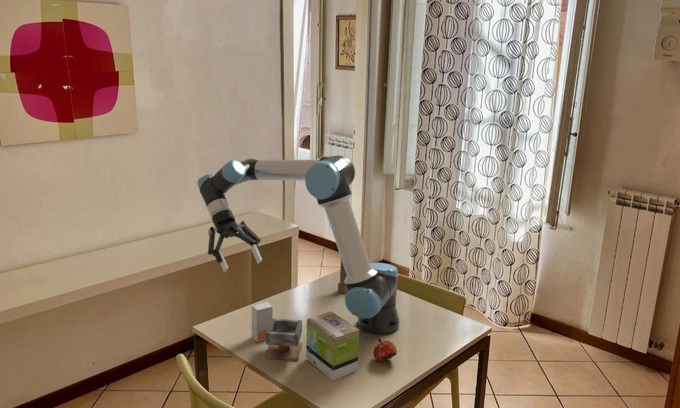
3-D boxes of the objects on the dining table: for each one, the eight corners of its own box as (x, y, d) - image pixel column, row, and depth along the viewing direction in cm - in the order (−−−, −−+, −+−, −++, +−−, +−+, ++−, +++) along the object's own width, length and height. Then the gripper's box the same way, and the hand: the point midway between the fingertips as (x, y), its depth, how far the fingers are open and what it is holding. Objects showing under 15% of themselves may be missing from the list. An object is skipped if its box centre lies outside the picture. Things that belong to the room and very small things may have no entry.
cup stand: (301, 344, 186) (302, 320, 184) (297, 360, 176) (297, 335, 174) (271, 342, 186) (271, 318, 184) (265, 358, 177) (265, 333, 174)
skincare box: (256, 342, 186) (256, 310, 183) (251, 337, 190) (251, 305, 186) (272, 338, 189) (272, 306, 186) (267, 333, 193) (267, 301, 190)
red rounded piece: (399, 368, 178) (389, 340, 183) (403, 360, 172) (393, 331, 177) (377, 373, 176) (368, 344, 181) (381, 365, 170) (371, 335, 176)
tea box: (304, 359, 177) (305, 317, 173) (329, 350, 183) (331, 309, 179) (332, 381, 166) (334, 337, 162) (358, 371, 171) (360, 328, 168)
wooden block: (361, 287, 234) (363, 247, 229) (343, 294, 226) (345, 252, 222) (355, 284, 236) (357, 244, 232) (337, 291, 229) (338, 250, 224)
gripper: (247, 213, 209) (269, 263, 202) (185, 224, 193) (207, 278, 186) (254, 203, 204) (277, 253, 197) (192, 214, 187) (214, 269, 181)
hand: (243, 266), depth 191 cm, fingers open, 13 cm apart
